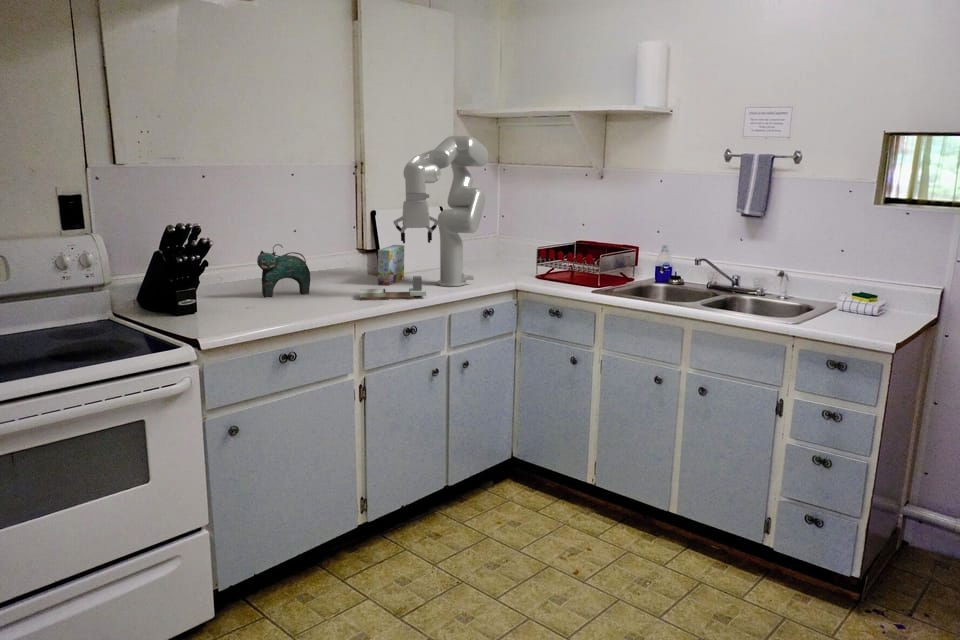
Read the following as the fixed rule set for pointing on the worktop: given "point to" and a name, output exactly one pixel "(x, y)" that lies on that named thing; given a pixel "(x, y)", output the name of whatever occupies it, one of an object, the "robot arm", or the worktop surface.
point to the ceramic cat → (283, 271)
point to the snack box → (390, 264)
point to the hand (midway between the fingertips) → (416, 242)
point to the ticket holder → (382, 294)
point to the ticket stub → (417, 287)
